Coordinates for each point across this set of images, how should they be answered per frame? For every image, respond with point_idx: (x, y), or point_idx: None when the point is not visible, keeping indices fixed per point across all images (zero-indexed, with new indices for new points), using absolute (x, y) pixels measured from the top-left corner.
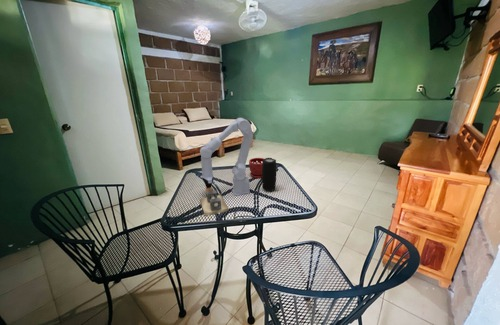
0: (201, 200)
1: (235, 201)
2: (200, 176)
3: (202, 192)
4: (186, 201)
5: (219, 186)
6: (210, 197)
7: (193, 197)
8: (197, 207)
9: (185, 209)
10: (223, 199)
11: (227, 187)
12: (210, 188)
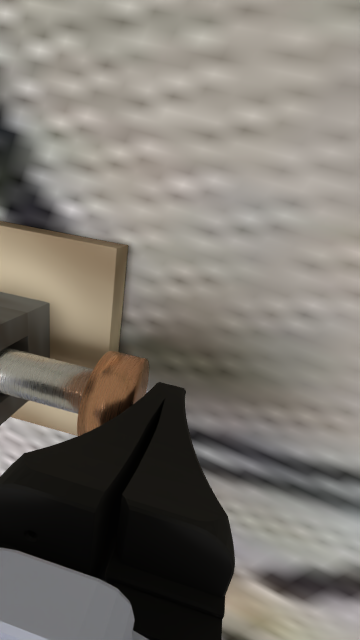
0: (68, 250)
1: (9, 460)
2: (16, 628)
3: (311, 340)
4: (203, 86)
5: (321, 515)
6: (16, 342)
7: (255, 205)
8: (17, 178)
9: (20, 29)
10: (14, 417)
11: (250, 542)
12: (82, 428)
